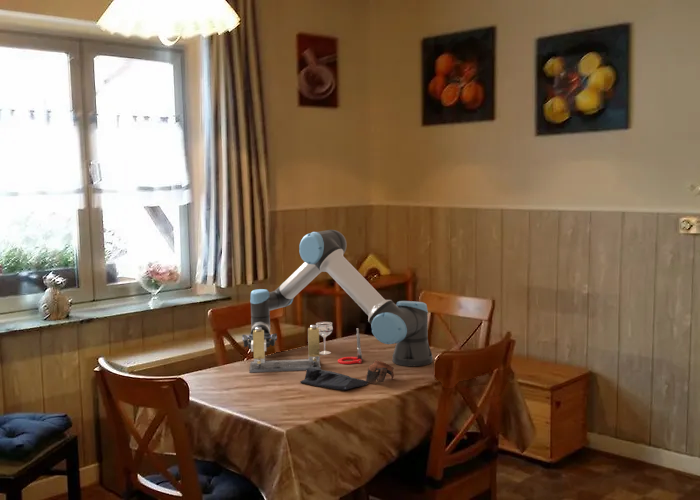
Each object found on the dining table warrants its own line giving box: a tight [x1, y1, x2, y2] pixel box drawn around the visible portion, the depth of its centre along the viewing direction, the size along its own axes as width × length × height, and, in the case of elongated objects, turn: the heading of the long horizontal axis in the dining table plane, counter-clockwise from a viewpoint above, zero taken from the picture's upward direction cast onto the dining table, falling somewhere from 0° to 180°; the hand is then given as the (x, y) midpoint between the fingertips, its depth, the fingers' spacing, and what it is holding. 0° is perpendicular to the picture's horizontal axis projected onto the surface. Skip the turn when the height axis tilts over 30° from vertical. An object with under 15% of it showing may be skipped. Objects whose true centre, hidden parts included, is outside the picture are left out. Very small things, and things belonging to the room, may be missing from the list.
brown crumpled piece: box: [365, 359, 395, 386], centre depth 262 cm, size 12×10×8 cm
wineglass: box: [315, 321, 334, 355], centre depth 302 cm, size 7×7×12 cm
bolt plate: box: [249, 324, 321, 373], centre depth 283 cm, size 26×12×15 cm, turn 95°
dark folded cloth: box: [299, 368, 370, 391], centre depth 261 cm, size 15×22×5 cm
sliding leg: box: [253, 327, 266, 366], centre depth 281 cm, size 4×7×13 cm, turn 5°
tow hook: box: [337, 328, 363, 365], centre depth 288 cm, size 8×13×9 cm
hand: (258, 347), depth 276 cm, fingers closed on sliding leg, 4 cm apart
